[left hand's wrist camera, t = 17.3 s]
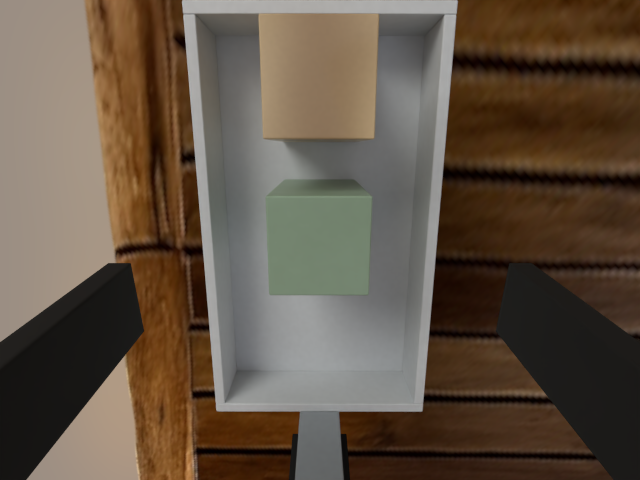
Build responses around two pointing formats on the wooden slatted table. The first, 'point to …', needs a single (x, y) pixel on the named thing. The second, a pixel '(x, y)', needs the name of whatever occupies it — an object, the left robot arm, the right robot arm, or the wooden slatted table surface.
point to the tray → (320, 163)
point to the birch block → (318, 76)
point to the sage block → (319, 237)
